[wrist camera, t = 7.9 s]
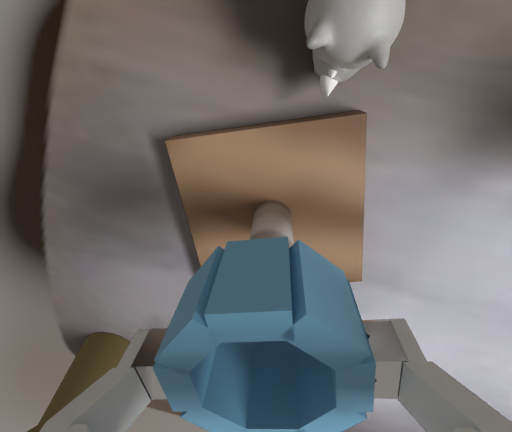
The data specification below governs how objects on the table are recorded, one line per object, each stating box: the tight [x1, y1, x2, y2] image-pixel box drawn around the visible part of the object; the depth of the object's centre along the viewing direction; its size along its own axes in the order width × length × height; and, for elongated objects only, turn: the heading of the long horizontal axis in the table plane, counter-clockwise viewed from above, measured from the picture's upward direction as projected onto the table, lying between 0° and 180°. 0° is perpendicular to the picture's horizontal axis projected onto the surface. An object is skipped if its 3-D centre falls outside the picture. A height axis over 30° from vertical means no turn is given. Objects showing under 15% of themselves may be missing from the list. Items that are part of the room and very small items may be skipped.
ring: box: [153, 236, 376, 432], centre depth 10 cm, size 7×7×4 cm
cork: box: [27, 332, 130, 432], centre depth 25 cm, size 6×6×11 cm
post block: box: [165, 110, 367, 282], centre depth 16 cm, size 12×12×10 cm
